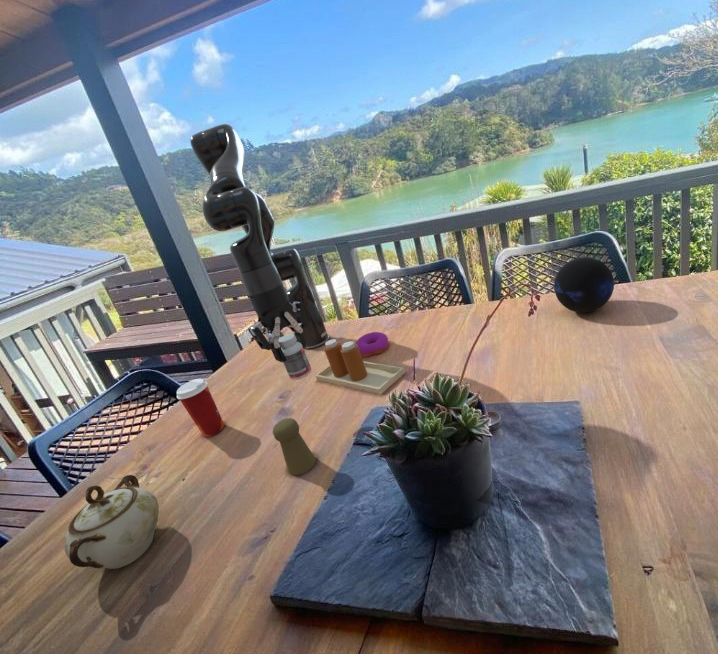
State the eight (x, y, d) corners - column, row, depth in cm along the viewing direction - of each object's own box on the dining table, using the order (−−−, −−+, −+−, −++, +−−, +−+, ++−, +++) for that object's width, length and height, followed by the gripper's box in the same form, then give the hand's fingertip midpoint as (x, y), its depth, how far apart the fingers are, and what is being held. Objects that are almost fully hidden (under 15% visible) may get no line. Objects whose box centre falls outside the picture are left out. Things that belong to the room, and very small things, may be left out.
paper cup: (234, 420, 117) (211, 376, 111) (216, 439, 110) (191, 393, 105) (211, 421, 119) (188, 378, 114) (192, 440, 113) (167, 395, 107)
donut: (356, 361, 129) (351, 348, 127) (359, 346, 139) (355, 334, 137) (390, 353, 128) (385, 340, 127) (390, 339, 138) (386, 326, 136)
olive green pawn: (286, 462, 94) (267, 421, 89) (313, 450, 95) (295, 410, 91) (289, 479, 88) (269, 437, 84) (317, 466, 90) (299, 424, 85)
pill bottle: (315, 372, 100) (300, 335, 96) (294, 383, 98) (278, 346, 94) (307, 365, 104) (292, 330, 100) (286, 376, 102) (271, 340, 98)
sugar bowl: (120, 517, 91) (82, 463, 85) (188, 499, 91) (154, 443, 85) (60, 609, 73) (5, 548, 67) (144, 586, 73) (97, 523, 67)
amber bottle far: (330, 376, 124) (318, 345, 120) (342, 367, 127) (331, 337, 123) (341, 378, 121) (330, 346, 117) (353, 369, 124) (342, 338, 120)
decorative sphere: (575, 296, 131) (570, 248, 125) (626, 302, 119) (623, 249, 113) (546, 317, 123) (539, 267, 117) (597, 326, 111) (592, 271, 106)
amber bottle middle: (347, 379, 119) (335, 347, 115) (358, 370, 123) (347, 339, 119) (359, 382, 116) (347, 349, 112) (370, 372, 120) (360, 340, 116)
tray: (317, 381, 124) (314, 375, 124) (341, 363, 131) (339, 357, 130) (381, 395, 108) (379, 389, 107) (405, 374, 115) (403, 367, 114)
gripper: (280, 273, 99) (306, 337, 106) (226, 300, 90) (258, 369, 97) (300, 272, 94) (325, 340, 101) (245, 301, 85) (277, 373, 92)
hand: (292, 354), depth 99 cm, fingers closed on pill bottle, 5 cm apart
